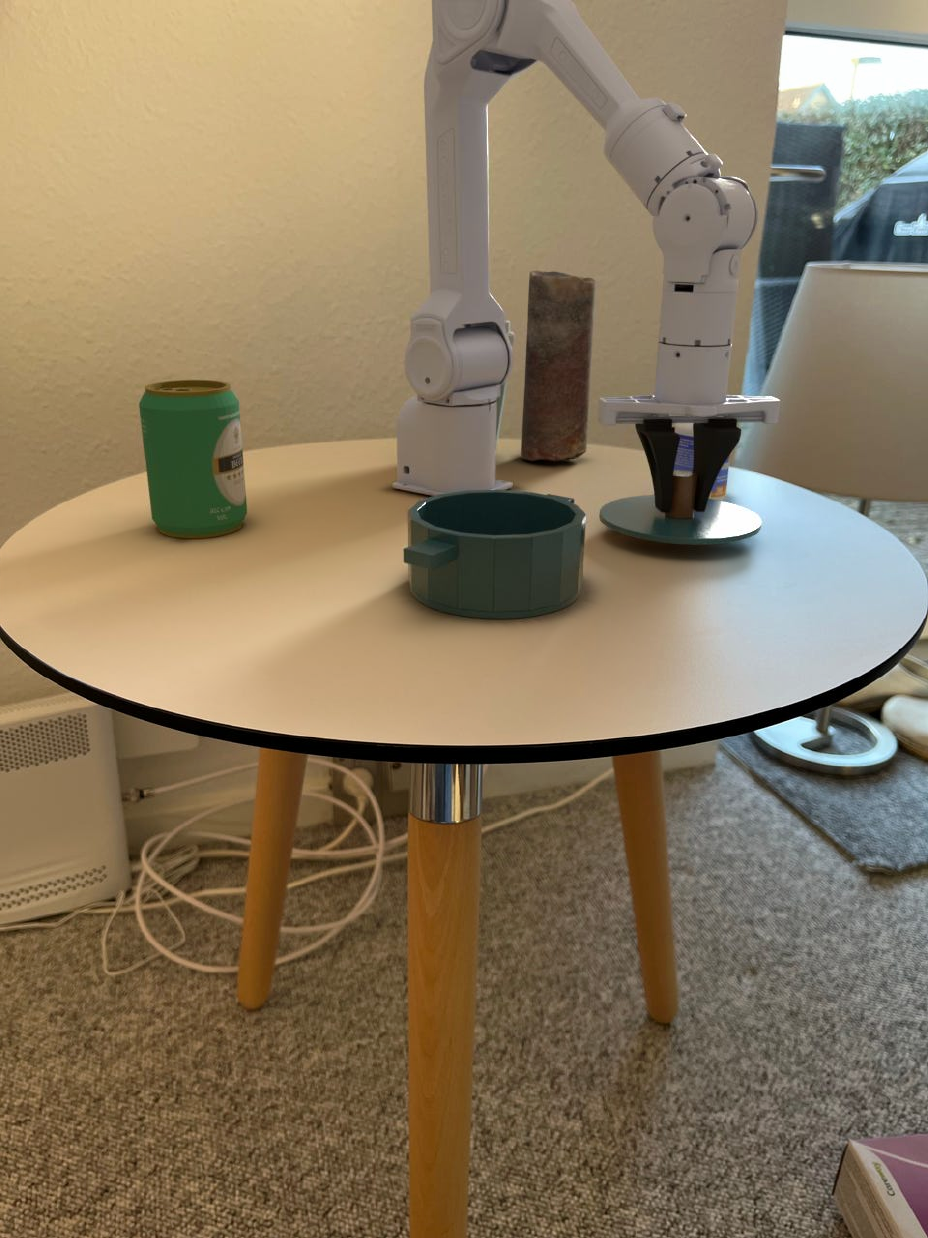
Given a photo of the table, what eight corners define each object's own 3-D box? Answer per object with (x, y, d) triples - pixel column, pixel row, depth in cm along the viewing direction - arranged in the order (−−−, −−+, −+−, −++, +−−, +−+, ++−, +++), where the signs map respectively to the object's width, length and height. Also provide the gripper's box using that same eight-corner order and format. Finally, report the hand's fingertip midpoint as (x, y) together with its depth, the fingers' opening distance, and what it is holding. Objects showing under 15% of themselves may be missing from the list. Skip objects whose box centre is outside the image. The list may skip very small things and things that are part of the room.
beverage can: (223, 543, 81) (210, 395, 76) (135, 535, 82) (117, 390, 78) (262, 517, 88) (253, 380, 84) (181, 510, 90) (167, 377, 85)
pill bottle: (726, 506, 93) (737, 402, 89) (668, 503, 94) (677, 400, 90) (724, 492, 98) (734, 393, 94) (668, 489, 99) (677, 391, 95)
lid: (569, 531, 82) (572, 476, 80) (643, 498, 92) (646, 449, 90) (721, 562, 75) (728, 502, 73) (783, 523, 85) (790, 470, 83)
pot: (348, 603, 68) (345, 524, 66) (494, 542, 82) (496, 475, 79) (494, 646, 61) (496, 560, 59) (628, 572, 75) (633, 500, 73)
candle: (550, 448, 116) (558, 269, 109) (600, 458, 111) (611, 271, 104) (507, 458, 111) (512, 270, 103) (557, 469, 106) (566, 273, 99)
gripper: (617, 348, 73) (605, 524, 78) (804, 348, 75) (781, 520, 80) (596, 338, 80) (587, 501, 85) (768, 338, 81) (749, 498, 86)
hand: (679, 509), depth 83 cm, fingers closed on lid, 2 cm apart
